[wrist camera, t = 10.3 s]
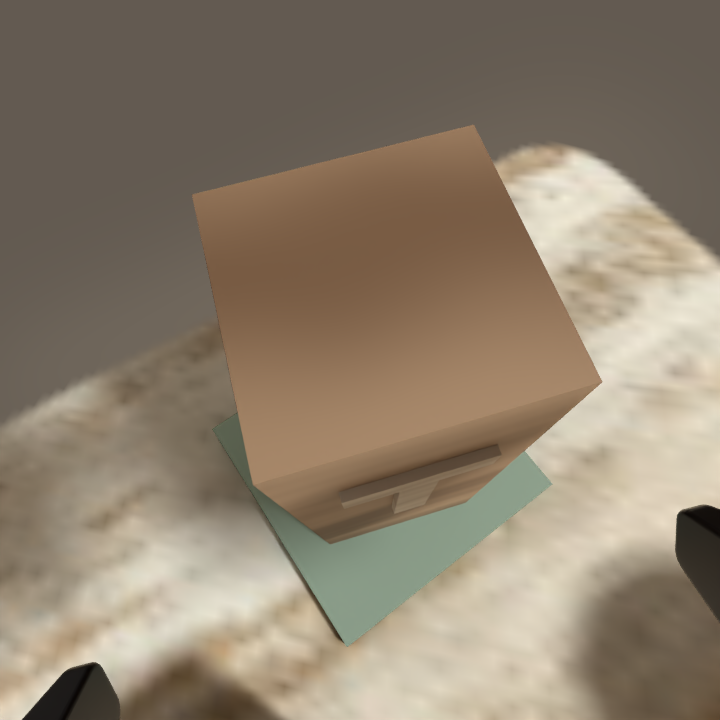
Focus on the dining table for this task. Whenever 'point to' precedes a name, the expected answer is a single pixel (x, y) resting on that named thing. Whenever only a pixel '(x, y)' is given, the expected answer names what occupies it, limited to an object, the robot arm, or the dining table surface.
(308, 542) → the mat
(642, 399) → the dining table surface
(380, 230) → the letter block
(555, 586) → the dining table surface
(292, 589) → the dining table surface
